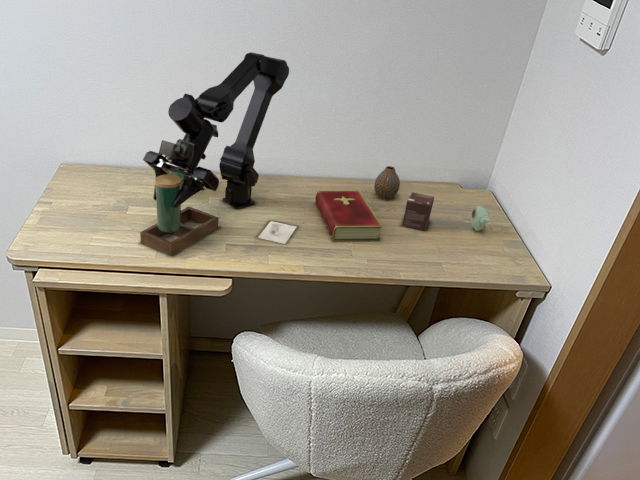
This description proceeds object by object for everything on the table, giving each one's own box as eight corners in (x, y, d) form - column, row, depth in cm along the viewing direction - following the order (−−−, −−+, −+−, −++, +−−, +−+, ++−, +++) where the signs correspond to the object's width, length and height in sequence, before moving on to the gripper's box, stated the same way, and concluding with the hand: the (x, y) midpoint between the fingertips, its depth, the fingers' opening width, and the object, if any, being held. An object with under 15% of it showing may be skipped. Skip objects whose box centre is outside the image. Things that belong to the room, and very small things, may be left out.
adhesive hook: (268, 234, 152) (269, 223, 151) (271, 230, 154) (272, 219, 153) (279, 237, 151) (280, 226, 150) (282, 232, 154) (284, 221, 152)
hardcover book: (332, 241, 151) (334, 226, 149) (314, 204, 168) (316, 189, 166) (379, 240, 152) (382, 225, 150) (357, 203, 170) (359, 189, 167)
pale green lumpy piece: (487, 238, 156) (495, 214, 153) (471, 236, 157) (478, 213, 153) (479, 223, 163) (486, 200, 159) (464, 222, 163) (471, 199, 159)
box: (429, 222, 162) (435, 196, 158) (424, 231, 158) (431, 205, 154) (406, 216, 164) (411, 191, 160) (401, 226, 160) (407, 200, 156)
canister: (173, 219, 148) (172, 172, 141) (186, 228, 144) (185, 181, 137) (152, 225, 145) (150, 177, 138) (165, 235, 141) (163, 186, 134)
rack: (188, 216, 158) (188, 206, 157) (218, 228, 154) (218, 217, 152) (140, 243, 146) (140, 232, 144) (171, 256, 141) (171, 244, 140)
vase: (400, 195, 176) (406, 167, 171) (391, 204, 171) (398, 174, 166) (377, 189, 178) (383, 161, 173) (368, 197, 174) (374, 168, 169)
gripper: (146, 116, 138) (115, 176, 137) (212, 135, 130) (180, 200, 129) (169, 140, 148) (141, 197, 147) (232, 160, 140) (202, 220, 138)
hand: (164, 203), depth 140 cm, fingers closed on canister, 5 cm apart
